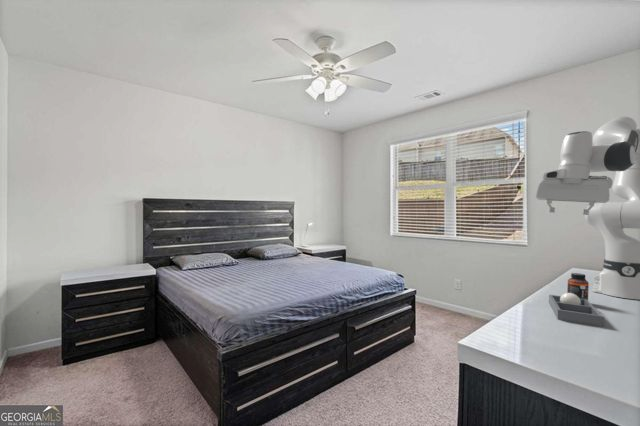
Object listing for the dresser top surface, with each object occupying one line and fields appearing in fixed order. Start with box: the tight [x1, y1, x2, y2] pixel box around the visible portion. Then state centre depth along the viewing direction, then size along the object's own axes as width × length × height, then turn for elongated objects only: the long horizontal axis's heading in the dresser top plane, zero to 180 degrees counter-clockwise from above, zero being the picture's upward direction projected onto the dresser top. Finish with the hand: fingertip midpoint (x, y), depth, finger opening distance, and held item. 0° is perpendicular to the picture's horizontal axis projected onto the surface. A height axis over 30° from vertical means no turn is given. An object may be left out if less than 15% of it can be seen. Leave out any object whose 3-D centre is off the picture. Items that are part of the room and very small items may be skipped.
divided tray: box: [548, 294, 604, 328], centre depth 100 cm, size 20×11×4 cm, turn 149°
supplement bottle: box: [566, 272, 590, 301], centre depth 112 cm, size 6×6×11 cm
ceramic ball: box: [560, 292, 581, 305], centre depth 104 cm, size 6×6×6 cm
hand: (568, 213), depth 107 cm, fingers open, 8 cm apart
